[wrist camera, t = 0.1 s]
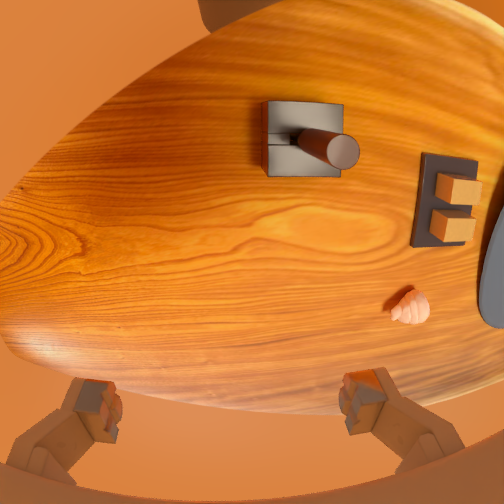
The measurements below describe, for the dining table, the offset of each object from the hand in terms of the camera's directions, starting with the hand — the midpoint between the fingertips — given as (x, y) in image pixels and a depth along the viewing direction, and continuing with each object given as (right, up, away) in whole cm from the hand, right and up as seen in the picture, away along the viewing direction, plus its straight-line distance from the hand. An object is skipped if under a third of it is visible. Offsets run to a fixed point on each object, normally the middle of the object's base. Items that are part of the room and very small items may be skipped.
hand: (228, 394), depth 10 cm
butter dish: (+30, +13, +32) cm, 45 cm away
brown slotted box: (+6, +19, +27) cm, 33 cm away
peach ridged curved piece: (+25, -3, +38) cm, 46 cm away
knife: (+6, +19, +27) cm, 33 cm away
